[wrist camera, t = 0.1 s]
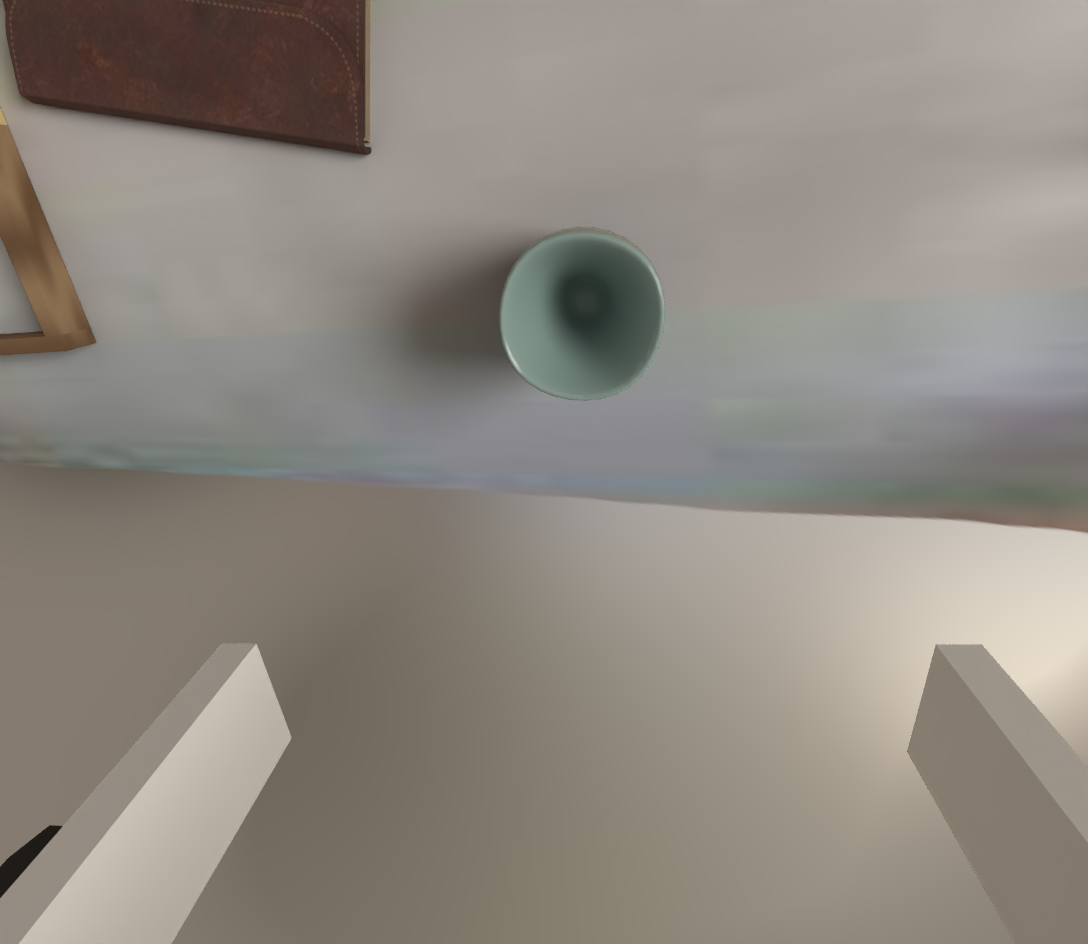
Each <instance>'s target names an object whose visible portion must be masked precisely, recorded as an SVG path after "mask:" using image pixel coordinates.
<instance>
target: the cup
mask: <svg viewBox="0 0 1088 944" xmlns="http://www.w3.org/2000/svg"><path fill="white" fill-rule="evenodd" d="M664 320H665V301H664V293H663V289H662V285H661V281H660V278H659V276H658V274H657V272H656V270H655V268H654V266H653V264H652V262H651V261H650V260H649V258H648V257H647V256H646V255H645V254H644V253H643V252H642V251H641V249H640V248H639V247H638V246H636V245H635V244H634V243H632V242H631V241H629V240H628V239H626V238H625V237H623V236H621V235H618V234H616V233H614V232H611V231H609V230H604V229H600V228H595V227H574V228H567V229H562V230H559V231H556V232H554V233H551V234H548V235H546V236H544V237H542V238H541V239H539V240H538V241H536V242H535V243H533V244H532V245H530V246H529V247H528V248H527V249H526V250H525V251H524V252H523V253H522V254H521V255H520V257H519V258H518V259H517V260H516V262H515V263H514V265H513V267H512V269H511V270H510V272H509V274H508V276H507V279H506V281H505V284H504V287H503V290H502V294H501V300H500V307H499V329H500V334H501V340H502V345H503V347H504V350H505V353H506V355H507V358H508V360H509V361H510V363H511V365H512V366H513V368H514V369H515V371H516V372H517V373H518V374H519V375H520V376H521V377H522V378H523V379H524V380H525V381H526V382H527V383H529V384H530V385H532V386H534V387H535V388H537V389H538V390H540V391H542V392H545V393H547V394H550V395H552V396H555V397H560V398H564V399H569V400H584V401H586V400H595V399H602V398H606V397H609V396H612V395H616V394H618V393H619V392H621V391H623V390H625V389H627V388H629V387H630V386H631V385H632V384H633V383H635V382H636V381H637V380H638V379H639V378H640V377H641V376H642V375H643V373H644V372H645V371H646V369H647V368H648V367H649V365H650V364H651V362H652V360H653V358H654V356H655V354H656V352H657V350H658V348H659V344H660V341H661V337H662V334H663V329H664Z"/></svg>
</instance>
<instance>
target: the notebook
mask: <svg viewBox="0 0 1088 944" xmlns="http://www.w3.org/2000/svg"><path fill="white" fill-rule="evenodd" d="M3 2H4V7H5V11H6V35H7V40H8V45H9V49H10V54H11V58H12V63H13V67H14V71H15V76H16V80H17V84H18V89H19V93H20V94H21V95H22V96H23V97H25V98H26V99H28V100H29V101H31V102H33V103H37V104H43V105H50V106H56V107H63V108H69V109H76V110H82V111H89V112H95V113H102V114H108V115H115V116H122V117H128V118H135V119H141V120H148V121H154V122H161V123H167V124H174V125H181V126H187V127H194V128H200V129H207V130H213V131H220V132H226V133H233V134H239V135H246V136H253V137H259V138H266V139H272V140H279V141H285V142H292V143H298V144H305V145H311V146H318V147H325V148H331V149H338V150H344V151H351V152H357V153H364V154H370V153H371V148H370V147H365V146H364V143H363V142H368V143H370V0H3Z"/></svg>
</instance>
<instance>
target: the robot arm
mask: <svg viewBox="0 0 1088 944" xmlns="http://www.w3.org/2000/svg"><path fill="white" fill-rule="evenodd" d="M290 740H291V735H290V733H289V730H288V727H287V724H286V722H285V719H284V716H283V714H282V711H281V709H280V706H279V703H278V700H277V698H276V695H275V693H274V690H273V687H272V684H271V682H270V679H269V676H268V674H267V671H266V668H265V666H264V663H263V660H262V658H261V655H260V652H259V650H258V647H257V644H254V643H251V644H250V643H249V644H248V643H241V644H240V643H239V644H238V643H237V644H236V643H223V644H221V645H220V646H219V647H218V649H217V650H216V651H215V652H214V653H213V654H212V656H211V657H210V658H209V659H208V660H207V661H206V662H205V664H204V665H203V666H202V667H201V668H200V669H199V670H198V672H197V673H196V674H195V675H194V676H193V677H192V679H191V680H190V681H189V682H188V683H187V684H186V685H185V687H184V688H183V689H182V690H181V691H180V692H179V694H178V695H177V696H176V697H175V698H174V699H173V701H172V702H171V703H170V704H169V705H168V706H167V707H166V708H165V710H164V711H163V712H162V713H161V714H160V715H159V717H158V718H157V719H156V720H155V721H154V722H153V723H152V725H151V726H150V727H149V728H148V729H147V730H146V732H145V733H144V734H143V735H142V736H141V737H140V738H139V740H138V741H137V742H136V743H135V744H134V745H133V747H132V748H131V749H130V750H129V751H128V752H127V753H126V755H125V756H124V757H123V758H122V759H121V760H120V761H119V763H118V764H117V765H116V766H115V767H114V768H113V769H112V771H111V772H110V773H109V774H108V775H107V776H106V777H105V779H104V780H103V781H102V782H101V783H100V785H98V787H97V788H96V789H95V790H94V791H93V792H92V794H91V795H90V796H89V797H88V798H87V799H86V800H85V802H84V803H83V804H82V805H81V806H80V807H79V808H78V810H77V811H76V812H75V813H74V814H73V815H72V817H71V818H70V819H69V820H68V821H67V823H65V825H64V826H51V825H50V826H49V827H47V828H46V829H45V830H43V831H42V832H41V833H39V834H38V835H37V836H36V837H34V838H33V839H32V840H31V841H29V842H28V843H27V844H25V845H24V846H23V847H22V848H20V849H19V850H18V851H17V852H15V853H14V854H13V855H12V856H10V857H9V858H8V859H7V860H6V861H5V862H4V863H3V864H2V865H1V867H0V944H172V942H173V940H174V938H175V937H176V935H177V933H178V932H179V930H180V928H181V926H182V925H183V923H184V921H185V919H186V918H187V916H188V915H189V913H190V911H191V909H192V907H193V906H194V904H195V903H196V901H197V899H198V897H199V896H200V894H201V892H202V891H203V889H204V887H205V885H206V884H207V882H208V880H209V878H210V877H211V875H212V873H213V872H214V870H215V868H216V866H217V865H218V863H219V861H220V860H221V858H222V856H223V854H224V853H225V851H226V849H227V848H228V846H229V844H230V843H231V841H232V839H233V837H234V836H235V834H236V832H237V831H238V829H239V827H240V825H241V823H242V822H243V820H244V818H245V817H246V815H247V813H248V812H249V810H250V808H251V807H252V805H253V803H254V801H255V800H256V798H257V796H258V795H259V793H260V791H261V789H262V788H263V786H264V784H265V782H266V781H267V779H268V777H269V776H270V774H271V772H272V770H273V769H274V767H275V765H276V764H277V762H278V760H279V759H280V757H281V755H282V753H283V752H284V750H285V748H286V746H287V745H288V743H289V741H290ZM907 752H908V754H909V756H910V758H911V759H912V761H913V763H914V765H915V766H916V768H917V770H918V772H919V773H920V775H921V777H922V779H923V781H924V782H925V784H926V786H927V788H928V789H929V791H930V793H931V795H932V797H933V798H934V800H935V802H936V804H937V806H938V807H939V809H940V811H941V813H942V814H943V816H944V818H945V820H946V822H947V823H948V825H949V827H950V829H951V830H952V832H953V834H954V836H955V838H956V839H957V841H958V843H959V844H960V846H961V848H962V850H963V852H964V854H965V855H966V857H967V859H968V861H969V862H970V864H971V866H972V868H973V870H974V871H975V873H976V875H977V877H978V879H979V880H980V882H981V884H982V885H983V887H984V889H985V891H986V892H987V895H988V896H989V898H990V900H991V902H992V903H993V905H994V907H995V909H996V910H997V912H998V914H999V916H1000V918H1001V919H1002V921H1003V923H1004V925H1005V926H1006V928H1007V930H1008V932H1009V934H1010V935H1011V937H1012V939H1013V941H1014V942H1015V944H1088V766H1087V765H1086V764H1085V763H1084V761H1083V760H1082V759H1081V758H1080V757H1079V756H1078V755H1077V753H1076V752H1075V751H1074V750H1073V749H1072V748H1071V747H1070V745H1069V744H1068V743H1067V742H1066V741H1065V740H1064V738H1063V737H1062V736H1061V735H1060V734H1059V733H1058V732H1057V730H1056V729H1055V728H1054V727H1053V726H1052V725H1051V723H1050V722H1049V721H1048V720H1047V719H1046V718H1045V717H1044V716H1043V714H1042V713H1041V712H1040V711H1039V710H1038V709H1037V707H1036V706H1035V705H1034V704H1033V703H1032V702H1031V701H1030V699H1028V697H1027V696H1026V695H1025V694H1024V692H1023V691H1022V690H1021V689H1020V688H1019V687H1018V686H1017V685H1016V683H1015V682H1014V681H1013V680H1012V679H1011V678H1010V676H1009V675H1008V674H1007V673H1006V672H1005V671H1004V670H1003V669H1002V667H1001V666H1000V665H999V664H998V663H997V662H996V660H995V659H994V658H993V657H992V656H991V655H990V653H989V652H988V651H987V650H986V649H985V648H984V647H983V645H936V646H935V650H934V654H933V657H932V661H931V665H930V668H929V672H928V676H927V680H926V683H925V688H924V691H923V695H922V698H921V702H920V706H919V709H918V714H917V717H916V721H915V725H914V728H913V732H912V735H911V739H910V743H909V747H908V750H907Z"/></svg>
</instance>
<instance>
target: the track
mask: <svg viewBox="0 0 1088 944" xmlns="http://www.w3.org/2000/svg"><path fill="white" fill-rule="evenodd" d="M0 236H1V238H2V241H3V243H4V245H5V247H6V250H7V252H8V254H9V256H10V259H11V261H12V263H13V265H14V268H15V270H16V272H17V274H18V277H19V279H20V281H21V283H22V285H23V288H24V290H25V292H26V294H27V297H28V299H29V301H30V303H31V306H32V308H33V310H34V312H35V315H36V317H37V319H38V321H39V324H40V326H41V328H42V330H43V331H42V332H28V333H14V334H0V355H10V354H25V353H40V352H55V351H67V350H70V349H74V348H78V347H82V346H85V345H89V344H93V343H96V341H95V338H94V336H93V333H92V331H91V328H90V326H89V323H88V321H87V319H86V316H85V314H84V311H83V309H82V306H81V304H80V301H79V299H78V297H77V294H76V292H75V289H74V287H73V284H72V282H71V279H70V277H69V275H68V272H67V270H66V267H65V265H64V262H63V260H62V257H61V255H60V253H59V250H58V248H57V245H56V243H55V240H54V238H53V235H52V233H51V231H50V228H49V226H48V223H47V221H46V218H45V216H44V213H43V211H42V209H41V206H40V204H39V201H38V199H37V196H36V194H35V191H34V189H33V187H32V184H31V182H30V179H29V177H28V174H27V172H26V169H25V167H24V165H23V162H22V160H21V157H20V155H19V152H18V150H17V147H16V145H15V143H14V140H13V138H12V135H11V133H10V130H9V128H8V125H7V123H6V121H5V118H4V116H3V113H2V111H1V108H0Z"/></svg>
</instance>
